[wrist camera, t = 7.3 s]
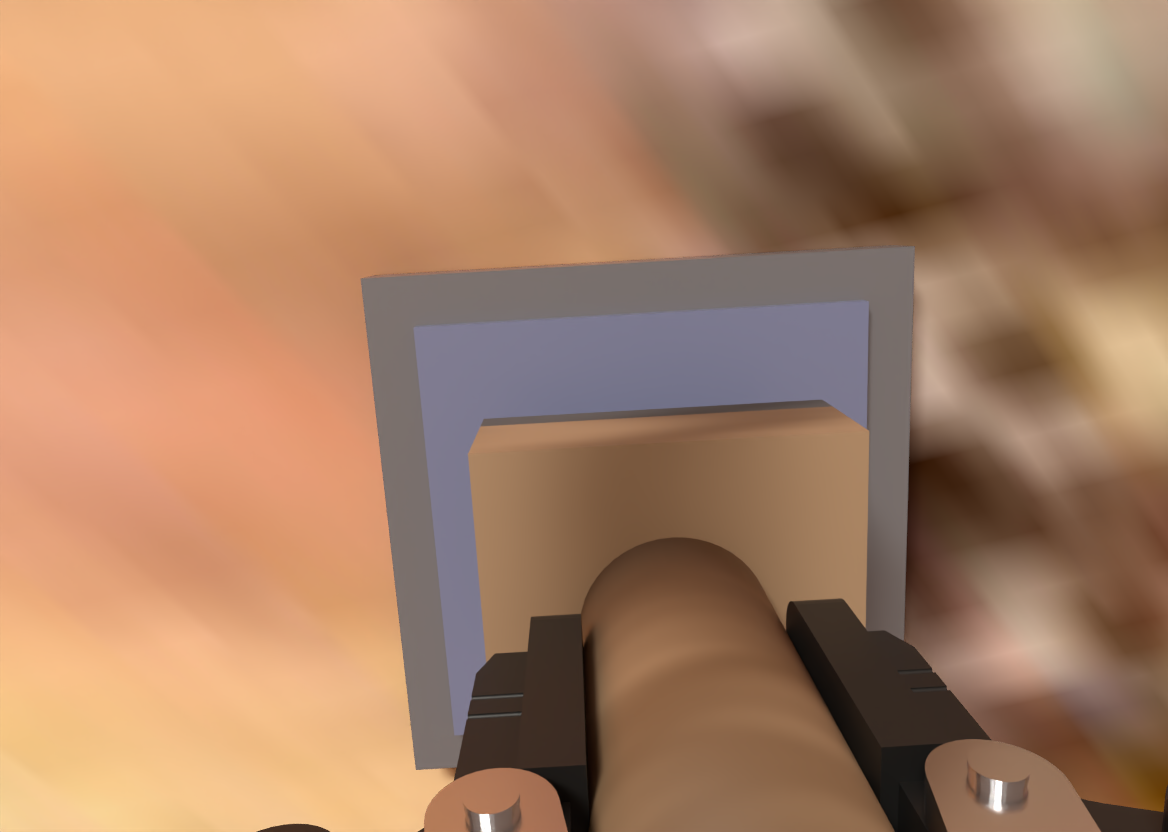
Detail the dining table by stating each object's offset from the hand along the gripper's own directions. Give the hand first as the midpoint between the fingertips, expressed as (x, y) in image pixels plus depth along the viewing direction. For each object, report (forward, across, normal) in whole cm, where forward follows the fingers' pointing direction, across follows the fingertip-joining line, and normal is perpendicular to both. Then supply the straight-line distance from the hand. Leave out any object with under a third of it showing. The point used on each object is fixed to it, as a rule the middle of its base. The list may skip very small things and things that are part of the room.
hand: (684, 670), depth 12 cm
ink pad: (+7, 0, 0) cm, 7 cm away
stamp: (+4, 0, 0) cm, 4 cm away
